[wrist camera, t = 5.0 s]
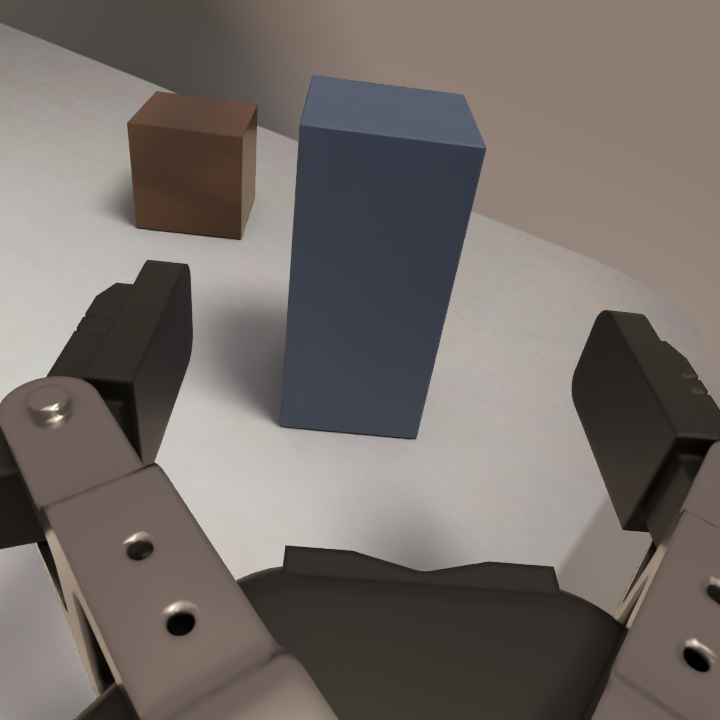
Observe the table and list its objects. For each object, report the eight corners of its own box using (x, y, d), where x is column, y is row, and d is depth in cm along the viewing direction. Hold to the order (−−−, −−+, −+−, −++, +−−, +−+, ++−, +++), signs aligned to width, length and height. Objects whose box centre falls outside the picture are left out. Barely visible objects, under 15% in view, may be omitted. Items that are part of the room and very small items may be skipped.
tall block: (409, 357, 26) (464, 94, 20) (416, 439, 22) (486, 146, 16) (292, 345, 25) (312, 74, 19) (279, 426, 22) (299, 123, 16)
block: (255, 197, 36) (257, 103, 33) (241, 239, 32) (242, 136, 29) (162, 187, 35) (155, 90, 32) (136, 227, 31) (126, 122, 28)
